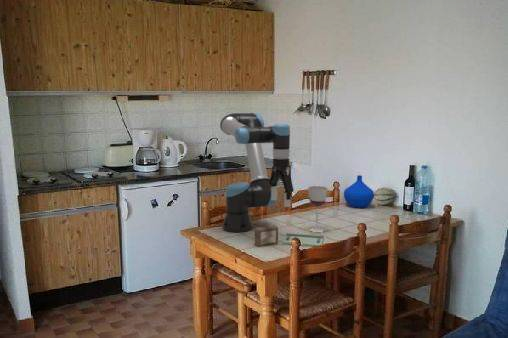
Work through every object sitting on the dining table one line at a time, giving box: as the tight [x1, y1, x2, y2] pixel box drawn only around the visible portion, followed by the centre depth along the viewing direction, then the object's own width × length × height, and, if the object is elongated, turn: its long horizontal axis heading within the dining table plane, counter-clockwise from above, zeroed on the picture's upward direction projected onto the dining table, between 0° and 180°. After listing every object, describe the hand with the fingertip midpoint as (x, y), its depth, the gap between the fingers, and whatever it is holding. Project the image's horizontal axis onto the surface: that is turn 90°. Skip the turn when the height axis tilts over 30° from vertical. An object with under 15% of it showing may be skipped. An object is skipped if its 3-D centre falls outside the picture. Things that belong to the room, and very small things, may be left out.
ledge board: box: [281, 232, 325, 247], centre depth 215 cm, size 18×12×2 cm, turn 76°
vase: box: [343, 174, 375, 209], centre depth 283 cm, size 18×18×19 cm
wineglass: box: [307, 185, 328, 233], centre depth 232 cm, size 9×10×22 cm
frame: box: [254, 225, 279, 248], centre depth 211 cm, size 10×4×8 cm, turn 116°
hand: (280, 203), depth 214 cm, fingers open, 13 cm apart
